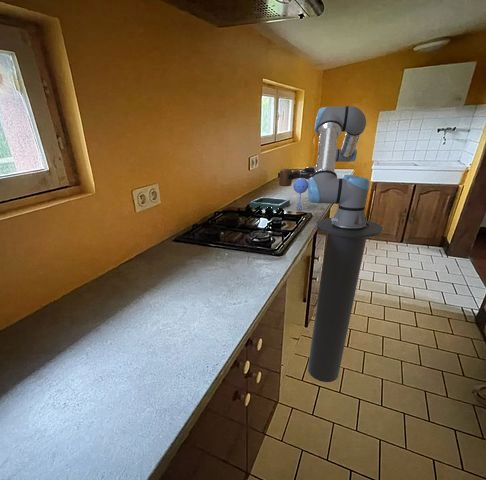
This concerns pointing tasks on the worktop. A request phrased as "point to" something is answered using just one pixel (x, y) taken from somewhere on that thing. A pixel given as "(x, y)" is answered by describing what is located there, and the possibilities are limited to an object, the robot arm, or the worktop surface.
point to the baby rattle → (300, 188)
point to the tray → (269, 203)
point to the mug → (286, 177)
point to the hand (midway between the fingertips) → (283, 176)
